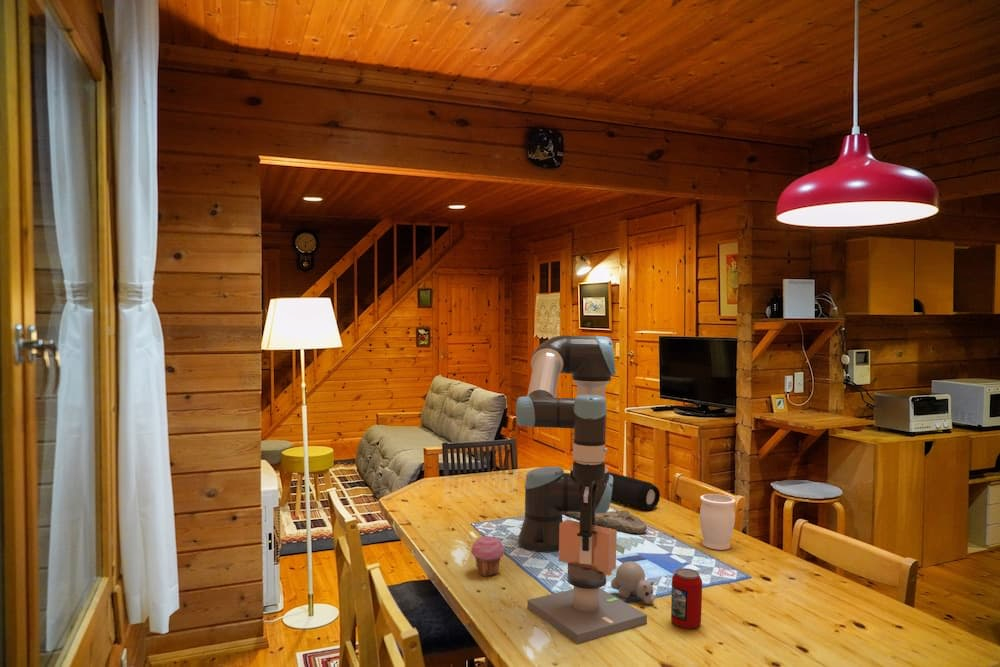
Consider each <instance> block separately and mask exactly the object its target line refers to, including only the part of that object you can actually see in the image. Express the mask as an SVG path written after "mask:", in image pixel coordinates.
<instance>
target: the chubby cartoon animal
mask: <svg viewBox="0 0 1000 667" xmlns="http://www.w3.org/2000/svg"><path fill="white" fill-rule="evenodd" d="M615 575H616V576H614V577H613V579H612V580H611V582H610V586H611V588H612V589H614V590H619V595H620V597H621V598H623V599H629V597H630V595H633V596H636V595H637V596H638V597H639V598H641V599H642V601H643V602H644V603H645V604H646V605H651V604H653V603H654V602H655V600H656V595H655V594H654V593H653V592H654V591H653V590H654V588H653V586H654V584H655V581H651V582H650V581H647V580H646V574H645V571H644V569H643V567H642V566H641V565H640V564H639V563H638V562H635V561H631V560H630V561H629V560H628V561H624V562H622V563H621V564H620V565H619V566H618V567H617V570H616V572H615Z"/></svg>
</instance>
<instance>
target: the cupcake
mask: <svg viewBox="0 0 1000 667" xmlns="http://www.w3.org/2000/svg"><path fill="white" fill-rule="evenodd" d="M504 554H505V548H504V544H503V542H502V541H501V540H499V539H498V538H497V537H494V536H485V535H484V536H481V537H477V539H476V540H475V541H474V543H473V545H472V547H471V555H472V556H473V557H474V559H475V561H476V568H477V570H478V573H479V574H480V575H481V576H483V577H487V576H493V575H497V574H498V573H499V571H500V569H499V568H500V562H501V558H502V557H503V556H504Z"/></svg>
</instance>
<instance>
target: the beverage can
mask: <svg viewBox="0 0 1000 667" xmlns="http://www.w3.org/2000/svg"><path fill="white" fill-rule="evenodd" d="M702 601H703V580H702V578H701V576H700V573H699V571H697V570H695V569H693V568H686V567H685V568H684V567H682V568H677V569H676V570H675V573H674V574H673V575H672V577H671V602H670V603H671V605H670V608H671V610H670V611H671V612H670V619H671V621H672V622H673V623H674V624H675V625H676V626H678V627H680V628H683V629H695V628H697V627H698V626H700V625H701V623H702V605H703V602H702Z"/></svg>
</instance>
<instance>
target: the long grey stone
mask: <svg viewBox="0 0 1000 667" xmlns="http://www.w3.org/2000/svg"><path fill="white" fill-rule="evenodd" d="M562 515H567V516H569V517H572V518H575V519H577V520H579V521H580V513H579V512H562ZM594 523H597V526H601V527H606V528H611V529H615V530H617V531H618V530H619V531H618V532H621V531H623V532H622V533H625V532H626V533H630V534H643V533H645V532H646V531H647V530H648V526H647V525H646V523H645V522H644V521H642V520H641V518H639V517H638V516H635V515H633V514H632V513H630V512H629V510H625V509H624V510H616V511H614V510H613V511H607V512H606V513H595V522H594Z"/></svg>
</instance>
